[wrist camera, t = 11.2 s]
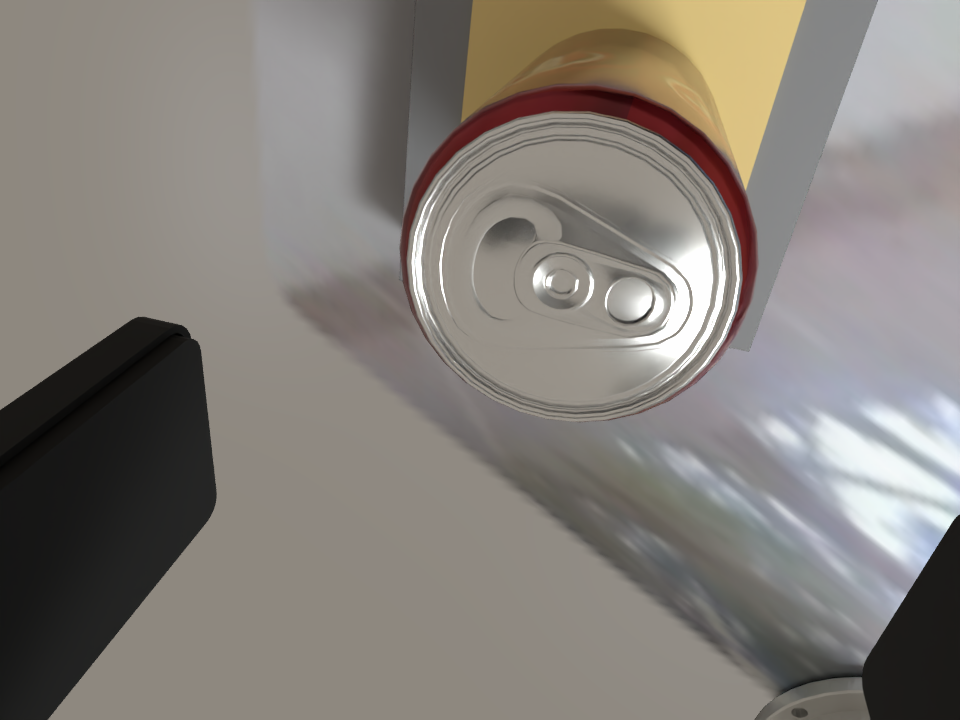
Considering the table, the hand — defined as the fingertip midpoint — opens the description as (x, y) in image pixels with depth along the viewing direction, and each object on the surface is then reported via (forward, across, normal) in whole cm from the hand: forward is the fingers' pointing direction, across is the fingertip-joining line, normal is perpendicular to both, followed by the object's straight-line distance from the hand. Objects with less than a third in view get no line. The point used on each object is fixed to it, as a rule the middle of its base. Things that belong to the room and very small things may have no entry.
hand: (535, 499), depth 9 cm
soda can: (+18, 0, 0) cm, 18 cm away
